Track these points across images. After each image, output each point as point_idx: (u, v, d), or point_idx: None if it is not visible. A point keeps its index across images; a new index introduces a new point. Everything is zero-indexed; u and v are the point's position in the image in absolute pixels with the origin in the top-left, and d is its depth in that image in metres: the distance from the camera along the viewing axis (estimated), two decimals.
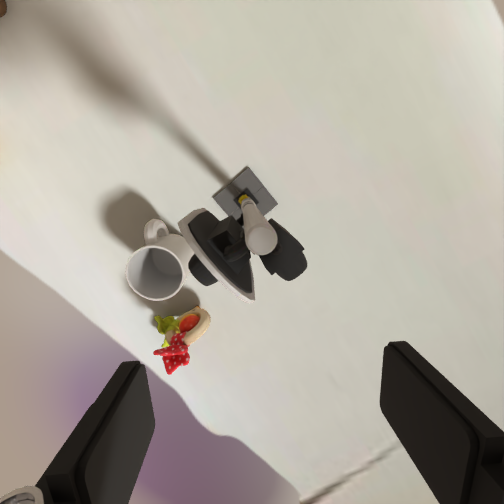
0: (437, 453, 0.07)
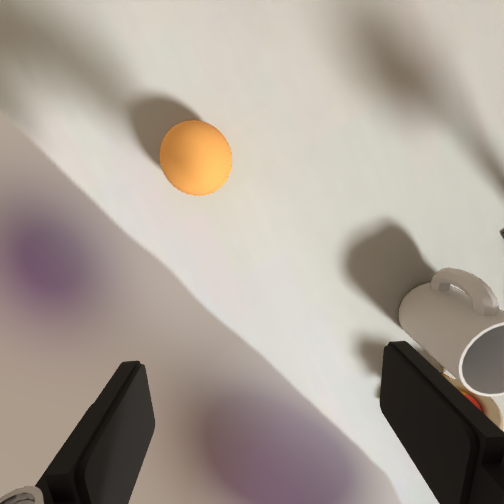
0: (437, 453, 0.07)
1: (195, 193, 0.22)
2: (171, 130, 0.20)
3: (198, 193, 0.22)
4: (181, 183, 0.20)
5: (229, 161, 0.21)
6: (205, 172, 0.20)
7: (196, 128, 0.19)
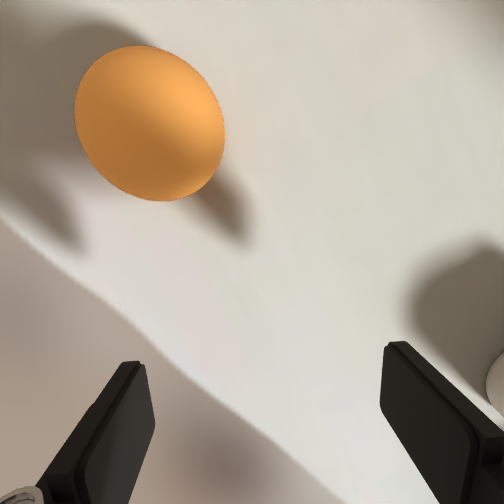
0: (437, 453, 0.07)
1: (153, 198, 0.11)
2: (93, 64, 0.09)
3: (158, 197, 0.11)
4: (119, 177, 0.10)
5: (218, 134, 0.11)
6: (166, 153, 0.09)
7: (144, 56, 0.09)
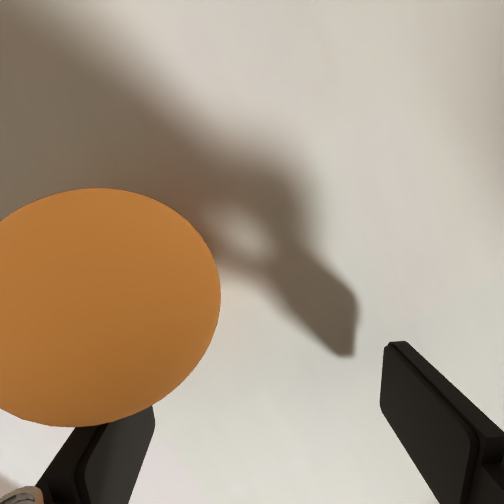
0: (437, 454, 0.07)
1: (6, 381, 0.04)
2: None
3: (21, 377, 0.04)
4: None
5: (206, 279, 0.06)
6: (89, 250, 0.05)
7: None
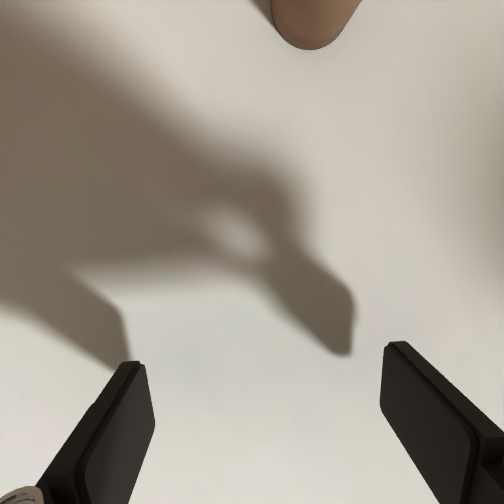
0: (437, 453, 0.07)
1: None
2: None
3: None
4: None
5: None
6: None
7: None
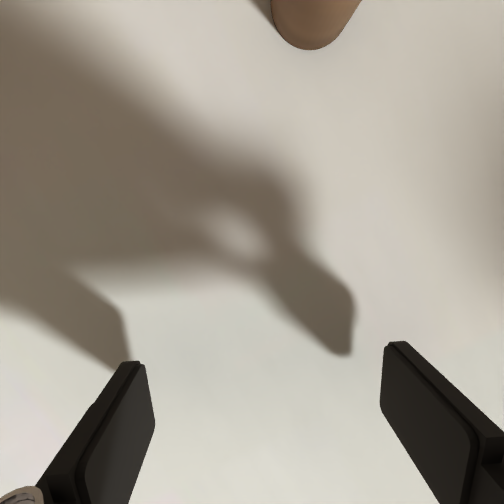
0: (437, 453, 0.07)
1: None
2: None
3: None
4: None
5: None
6: None
7: None
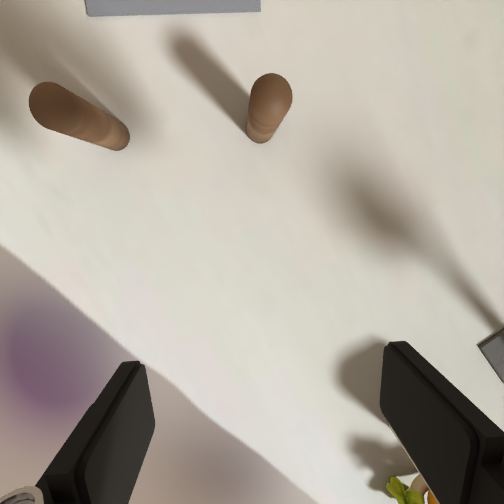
0: (437, 453, 0.07)
1: None
2: None
3: None
4: None
5: None
6: None
7: None
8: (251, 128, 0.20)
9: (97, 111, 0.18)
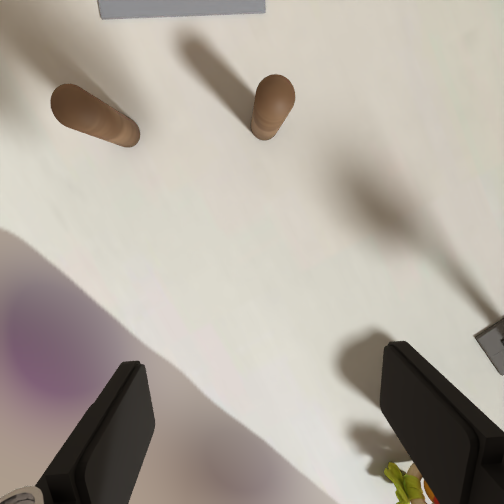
0: (437, 453, 0.07)
1: None
2: None
3: None
4: None
5: None
6: None
7: None
8: (256, 126, 0.21)
9: (111, 110, 0.19)
